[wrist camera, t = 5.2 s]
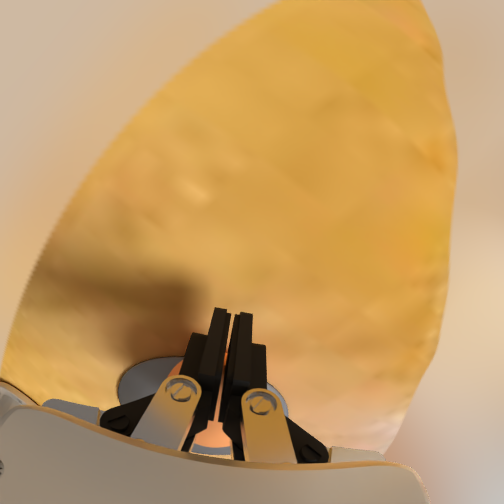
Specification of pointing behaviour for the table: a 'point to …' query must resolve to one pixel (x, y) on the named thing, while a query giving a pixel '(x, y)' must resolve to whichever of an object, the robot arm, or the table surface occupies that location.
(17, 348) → the table surface
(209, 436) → the ball
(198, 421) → the robot arm
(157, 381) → the disc
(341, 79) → the table surface
